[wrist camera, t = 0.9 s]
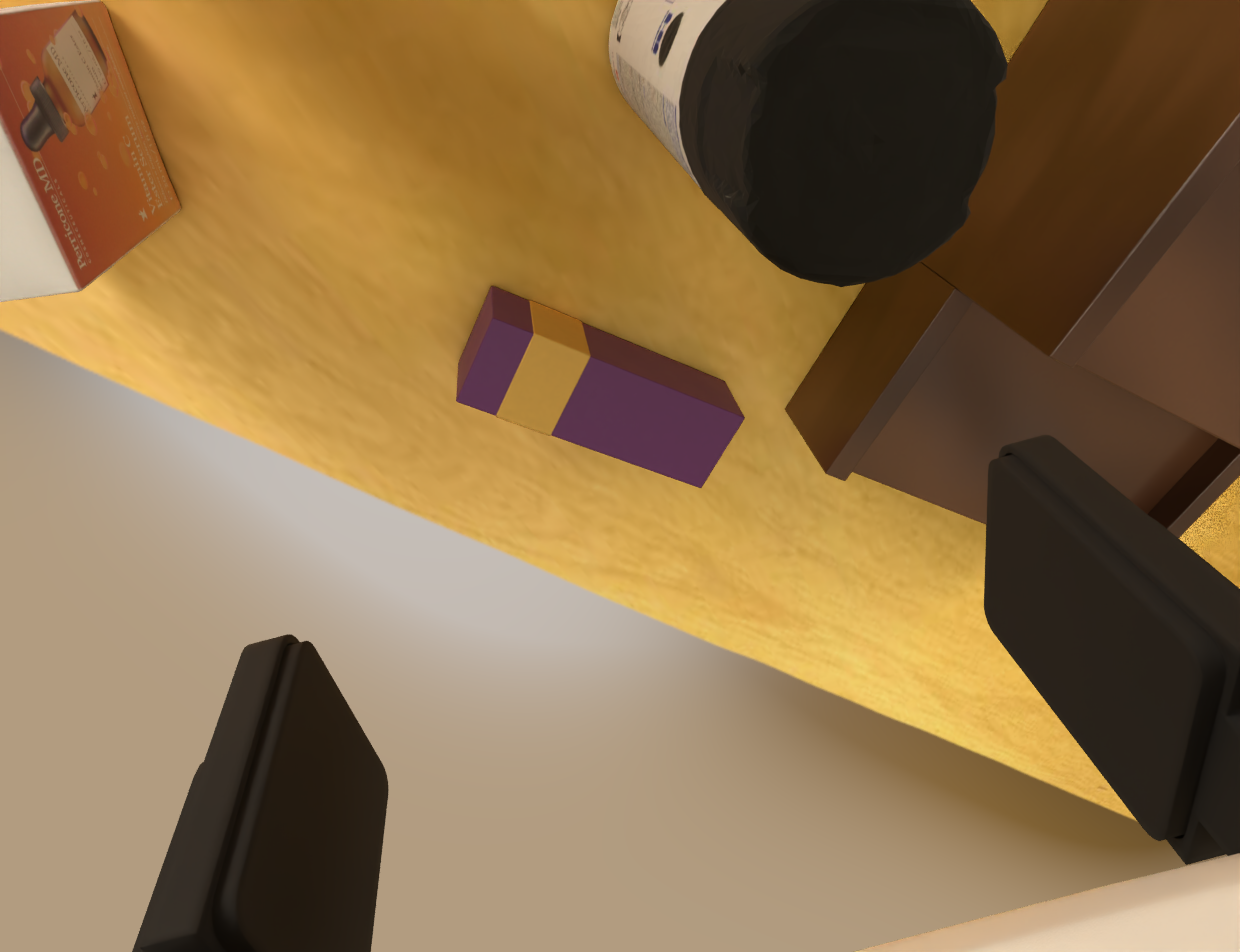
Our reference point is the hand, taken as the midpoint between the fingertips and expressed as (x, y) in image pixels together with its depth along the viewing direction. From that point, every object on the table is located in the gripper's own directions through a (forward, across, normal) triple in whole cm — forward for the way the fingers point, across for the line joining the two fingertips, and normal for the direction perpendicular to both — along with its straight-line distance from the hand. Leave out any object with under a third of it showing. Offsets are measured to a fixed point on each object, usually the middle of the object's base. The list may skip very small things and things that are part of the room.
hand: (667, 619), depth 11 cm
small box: (+30, +17, -6) cm, 35 cm away
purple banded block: (+30, 0, +10) cm, 32 cm away
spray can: (+30, -7, -3) cm, 31 cm away
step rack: (+30, -25, +13) cm, 41 cm away
